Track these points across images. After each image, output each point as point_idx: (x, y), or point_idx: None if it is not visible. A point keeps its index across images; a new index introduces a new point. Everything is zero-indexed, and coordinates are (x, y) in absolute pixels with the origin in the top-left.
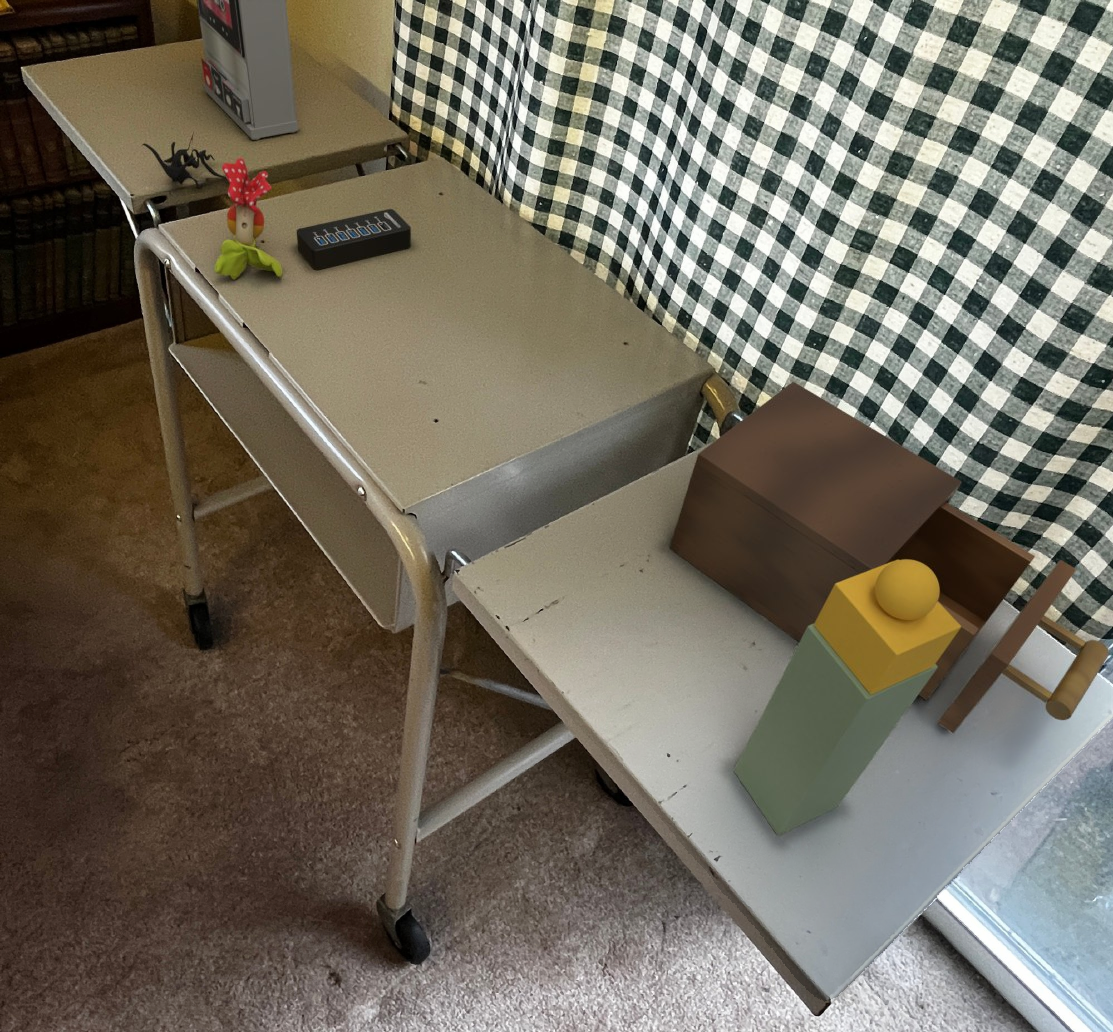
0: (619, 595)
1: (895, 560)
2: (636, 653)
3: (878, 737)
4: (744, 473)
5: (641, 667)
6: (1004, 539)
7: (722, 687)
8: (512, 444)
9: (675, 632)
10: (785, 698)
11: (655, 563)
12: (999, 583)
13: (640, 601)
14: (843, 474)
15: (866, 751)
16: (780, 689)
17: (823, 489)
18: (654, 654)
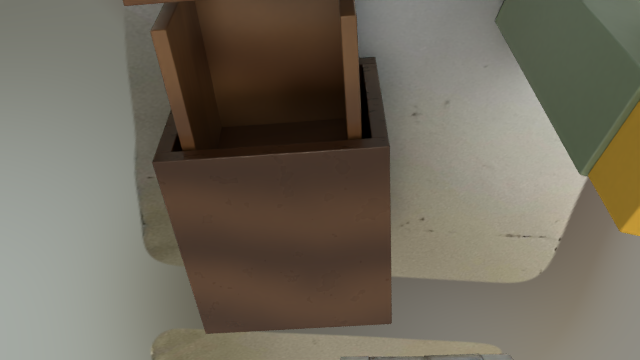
0: (461, 213)
1: (625, 232)
2: (507, 168)
3: (609, 13)
4: (376, 290)
5: (518, 157)
6: (165, 72)
7: (484, 102)
8: (391, 345)
9: (460, 163)
10: None
11: (404, 217)
12: (181, 19)
13: (453, 199)
14: (282, 241)
15: (603, 3)
16: None
17: (324, 240)
18: (496, 159)
